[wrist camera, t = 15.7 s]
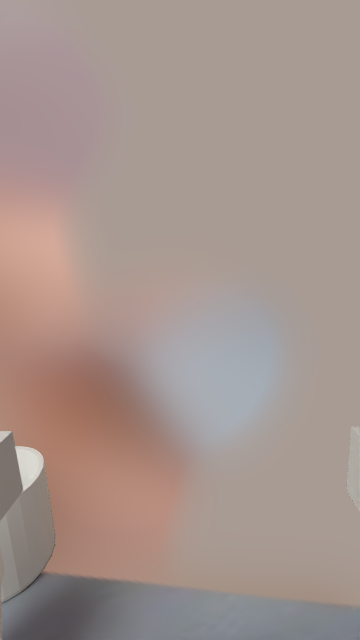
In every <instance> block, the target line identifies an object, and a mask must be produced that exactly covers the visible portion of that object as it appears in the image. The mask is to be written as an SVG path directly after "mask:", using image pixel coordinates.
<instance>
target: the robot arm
mask: <svg viewBox="0 0 360 640" xmlns="http://www.w3.org/2000/svg"><path fill="white" fill-rule="evenodd" d="M22 491H23V485H22V480H21V475H20V470H19V464H18V459H17V454H16V449H15V444H14V438H13V433H12V431H6V432H5V431H4V432H3V431H1V432H0V521H1V520H2V518H3V517H4V516H5V514H6V513H7V512H8V510H9V509H10V508H11V506H12V505H13V504H14V502H15V501H16V499H17V498H18V497H19V495H20V494H21V493H22ZM347 492H348V494H349V495H350V497H351V499H352V500H353V502H354V503H355V505H356V507H357V508H358V510H359V511H360V427H351V437H350V450H349V465H348V479H347Z"/></svg>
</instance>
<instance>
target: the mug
mask: <svg viewBox="0 0 360 640" xmlns="http://www.w3.org/2000/svg"><path fill="white" fill-rule="evenodd" d="M15 449H16V454H17V459H18V464H19V470H20V475H21V480H22V485H23V491H22V493H21V494H20V495H19V497H18V498H17V499H16V501H15V502H14V504H13V505H12V506H11V508H10V509H9V510H8V512H7V513H6V514H5V516H4V517H3V518H2V520H1V521H0V550H1V555H2V560H3V565H4V575H3V581H2V586H1V592H2V603H3V602H5V601H7V600H9V599H10V598H12V597H14V596H15V595H17V594H19V593H20V592H22V591H23V590H24V589H25V588H26V587H27V586H29V585H30V584H31V583H32V582H33V581H34V580H35V579H36V578H37V577H38V575H39V574H40V573H41V572H42V571H43V570H44V568H45V566H46V564H47V563H48V561H49V559H50V558H51V556H52V553H53V549H54V546H55V532H54V525H53V518H52V511H51V505H50V499H49V492H48V485H47V478H46V472H45V466H44V459H43V457H42V455H41V453H39V452H38V451H37V450H35V449H32V448H29V447H21V446H15Z"/></svg>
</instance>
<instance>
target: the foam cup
mask: <svg viewBox="0 0 360 640" xmlns="http://www.w3.org/2000/svg"><path fill="white" fill-rule="evenodd" d="M3 575H4V565H3V560H2V555H1V550H0V640H2V592H1V586H2V581H3Z"/></svg>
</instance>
